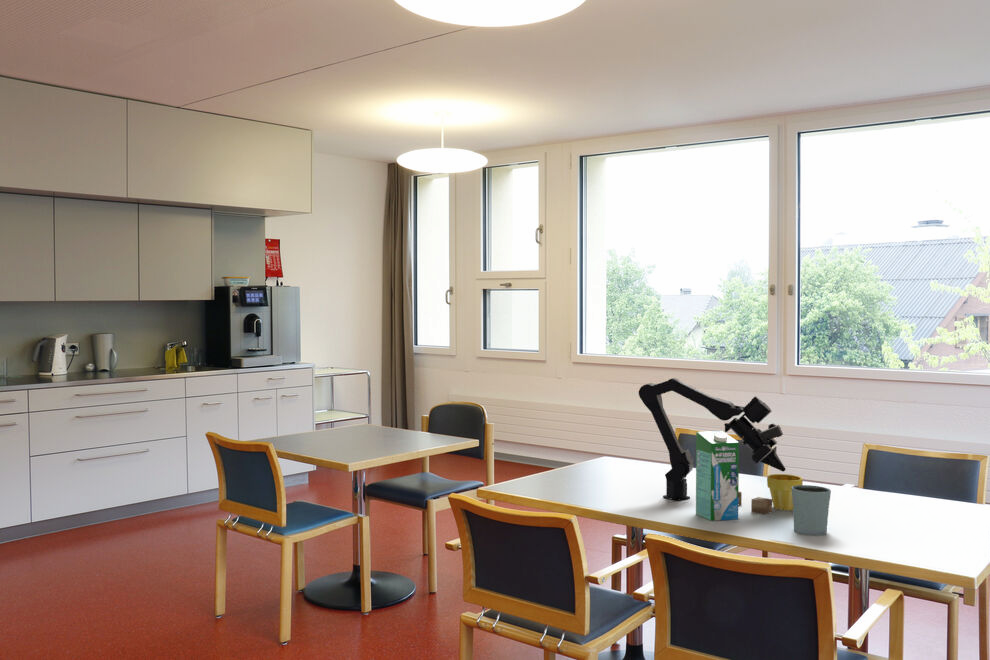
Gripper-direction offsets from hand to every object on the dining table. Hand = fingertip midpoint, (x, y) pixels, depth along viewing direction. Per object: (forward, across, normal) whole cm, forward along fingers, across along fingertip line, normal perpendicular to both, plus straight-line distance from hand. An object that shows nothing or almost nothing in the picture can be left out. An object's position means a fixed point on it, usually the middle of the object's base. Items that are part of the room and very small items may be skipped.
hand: (784, 470), depth 253 cm
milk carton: (-4, -20, +21) cm, 29 cm away
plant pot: (+8, 0, +8) cm, 12 cm away
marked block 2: (+4, -8, +13) cm, 16 cm away
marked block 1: (-3, 0, +20) cm, 20 cm away
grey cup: (+15, -26, +2) cm, 30 cm away
